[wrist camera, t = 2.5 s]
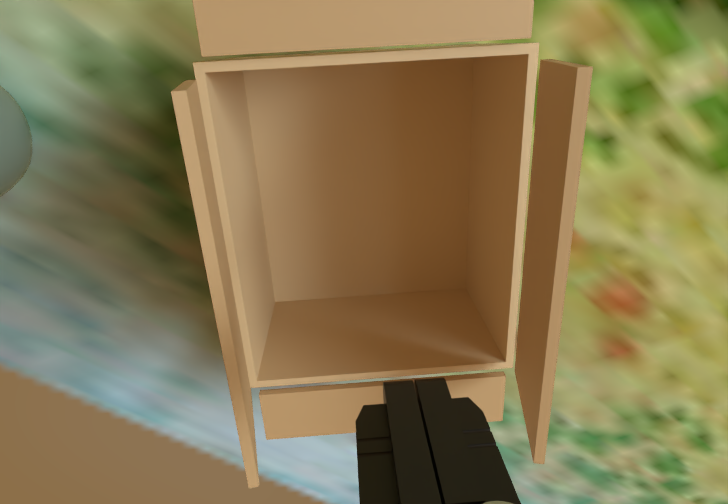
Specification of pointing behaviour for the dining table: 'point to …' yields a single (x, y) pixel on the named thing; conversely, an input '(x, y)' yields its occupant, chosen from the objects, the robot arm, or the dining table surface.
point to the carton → (369, 194)
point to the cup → (13, 142)
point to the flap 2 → (549, 237)
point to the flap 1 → (216, 265)
